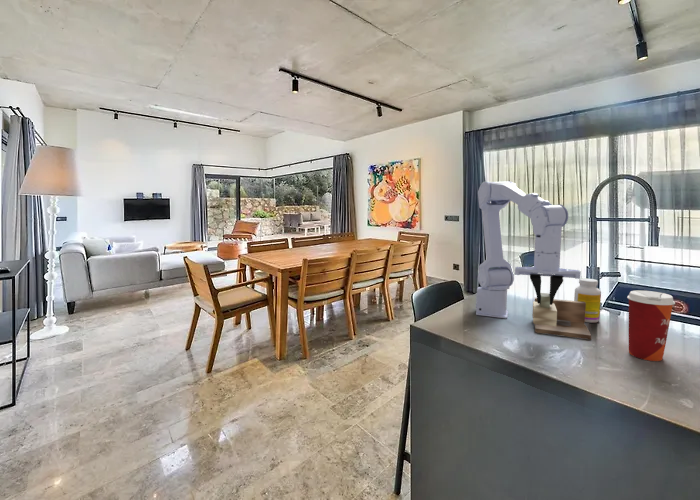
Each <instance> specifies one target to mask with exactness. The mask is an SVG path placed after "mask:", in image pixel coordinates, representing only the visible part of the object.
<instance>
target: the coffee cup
mask: <svg viewBox="0 0 700 500" xmlns="http://www.w3.org/2000/svg"><path fill="white" fill-rule="evenodd" d="M626 298H627V299H628V354H629V355H631V356H632V357H634V358H637V359H640V360H643V361H650V362H660V361H663V358H664V354H665V349H666V345H667V344H666V343H667V340H668V339H667V338H668V334H669V327H670V323H671V316H672V311H673V306H674V305H675V304H676V302H675V301H674V297H673V296H672V295H671V294H668V293H665V292H659V291H651V290H631V291H630V292H629V294H628V295H627V297H626Z"/></svg>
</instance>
